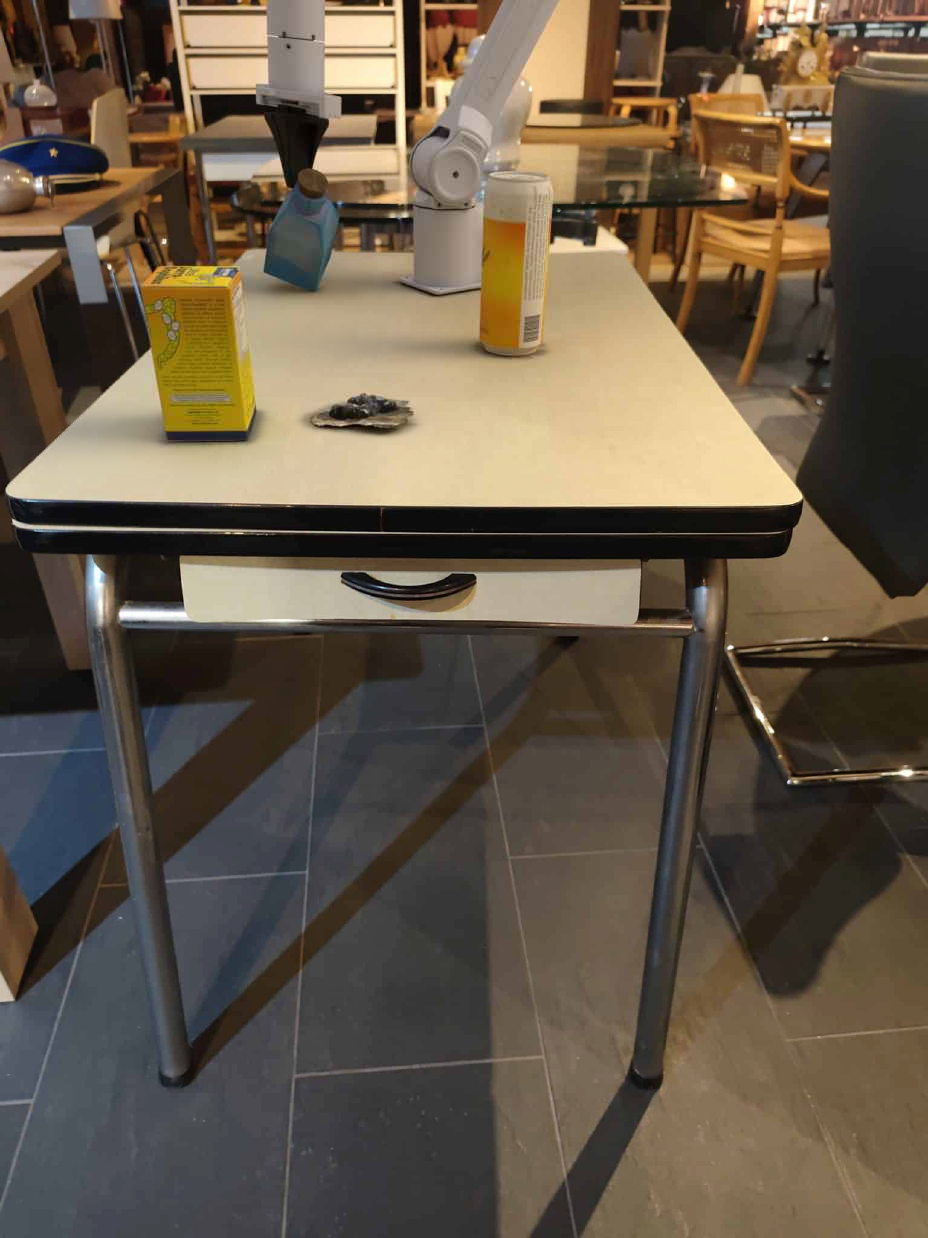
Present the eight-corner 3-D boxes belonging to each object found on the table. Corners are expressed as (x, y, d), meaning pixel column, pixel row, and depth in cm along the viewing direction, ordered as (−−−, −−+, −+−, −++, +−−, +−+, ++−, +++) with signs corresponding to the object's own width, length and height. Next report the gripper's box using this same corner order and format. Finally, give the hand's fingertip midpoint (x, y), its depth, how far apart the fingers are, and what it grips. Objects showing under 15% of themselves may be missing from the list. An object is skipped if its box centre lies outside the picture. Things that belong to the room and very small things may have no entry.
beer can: (508, 335, 89) (517, 168, 81) (555, 348, 85) (568, 176, 77) (465, 346, 85) (470, 173, 77) (512, 361, 82) (521, 181, 73)
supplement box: (179, 413, 69) (156, 264, 63) (257, 412, 69) (241, 264, 63) (164, 442, 64) (137, 284, 58) (249, 441, 64) (230, 284, 58)
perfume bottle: (330, 257, 105) (349, 173, 95) (315, 293, 102) (332, 210, 92) (280, 236, 104) (293, 149, 94) (263, 272, 101) (275, 185, 91)
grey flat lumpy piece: (419, 433, 66) (419, 408, 65) (311, 438, 65) (309, 413, 64) (407, 402, 72) (407, 379, 71) (307, 406, 71) (306, 383, 70)
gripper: (227, 31, 91) (233, 177, 99) (295, 38, 82) (297, 198, 89) (288, 38, 95) (290, 177, 103) (360, 45, 86) (356, 198, 93)
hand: (297, 187), depth 96 cm, fingers closed, pressing on perfume bottle
